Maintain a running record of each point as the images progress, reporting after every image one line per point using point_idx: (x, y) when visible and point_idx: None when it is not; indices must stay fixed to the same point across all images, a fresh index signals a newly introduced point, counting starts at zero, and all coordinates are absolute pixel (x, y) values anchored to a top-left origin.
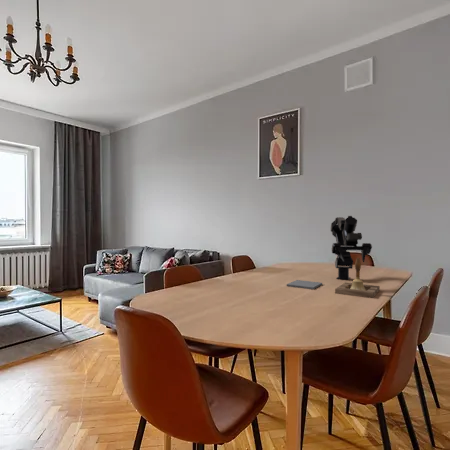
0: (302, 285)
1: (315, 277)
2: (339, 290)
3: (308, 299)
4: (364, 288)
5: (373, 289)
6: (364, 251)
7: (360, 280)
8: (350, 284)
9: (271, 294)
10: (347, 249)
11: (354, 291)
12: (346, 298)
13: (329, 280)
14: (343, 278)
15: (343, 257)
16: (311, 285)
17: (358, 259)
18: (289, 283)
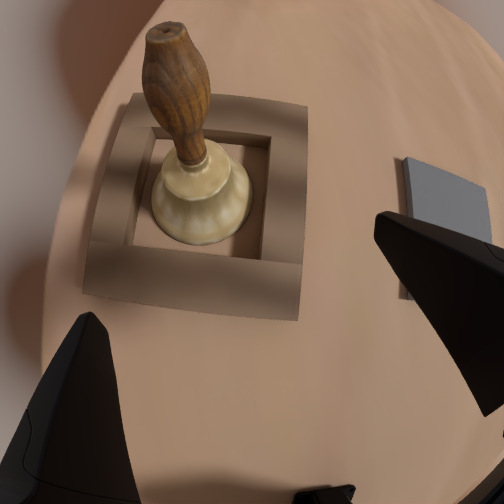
0: (449, 183)
1: (437, 449)
2: (285, 106)
3: (344, 36)
4: (161, 183)
5: (116, 173)
6: (15, 480)
7: (175, 152)
8: (253, 263)
9: (439, 74)
10: (467, 499)
11: (212, 94)
12: (240, 62)
13: (385, 434)
14: (320, 490)
15: (423, 225)
16: (428, 197)
17: (163, 32)
18: (486, 207)
